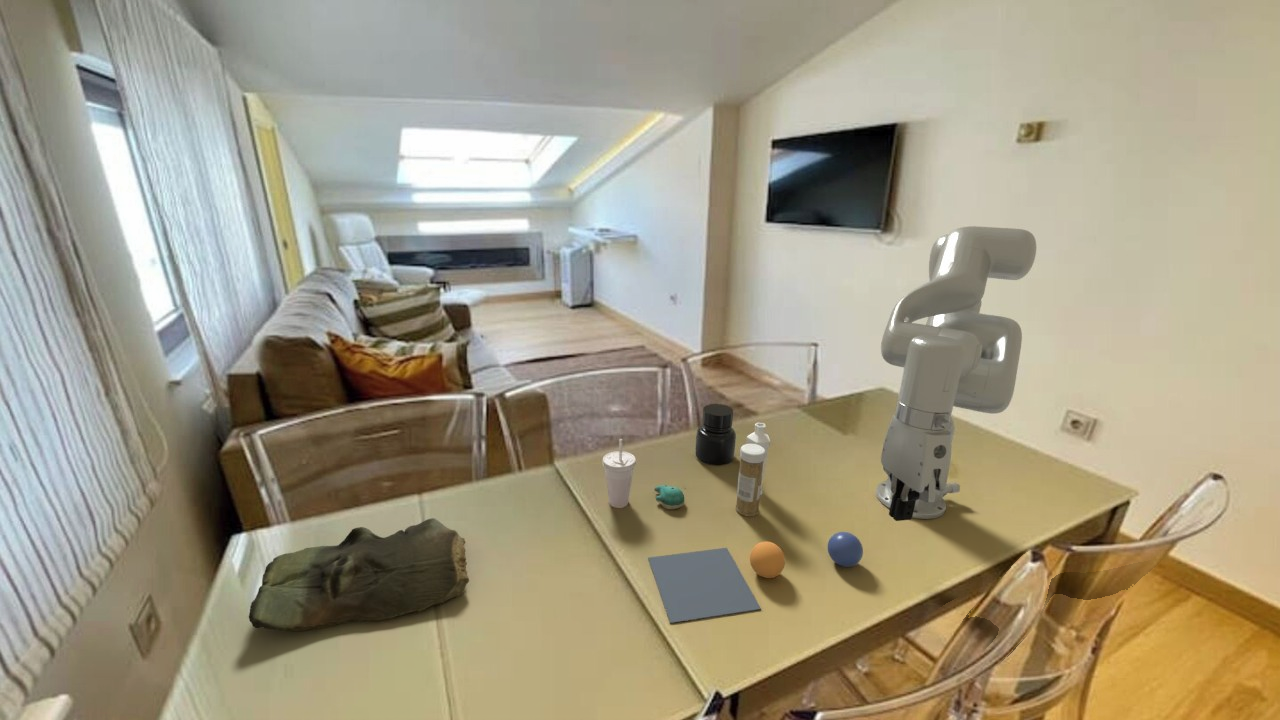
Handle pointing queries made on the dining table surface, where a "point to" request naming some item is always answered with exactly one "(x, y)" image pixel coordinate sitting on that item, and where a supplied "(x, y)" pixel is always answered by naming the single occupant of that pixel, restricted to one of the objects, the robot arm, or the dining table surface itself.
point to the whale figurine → (670, 497)
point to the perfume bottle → (760, 442)
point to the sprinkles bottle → (750, 479)
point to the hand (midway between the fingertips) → (900, 517)
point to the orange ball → (767, 559)
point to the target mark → (701, 585)
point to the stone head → (362, 578)
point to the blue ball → (845, 549)
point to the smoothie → (619, 476)
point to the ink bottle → (716, 435)
